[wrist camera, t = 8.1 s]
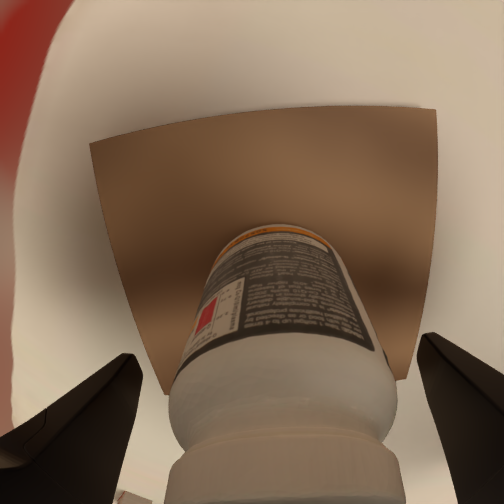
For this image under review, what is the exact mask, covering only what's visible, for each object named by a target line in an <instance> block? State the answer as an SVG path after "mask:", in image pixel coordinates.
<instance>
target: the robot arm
mask: <svg viewBox="0 0 504 504" xmlns="http://www.w3.org/2000/svg"><path fill="white" fill-rule="evenodd" d="M417 362H418V366H419V370H420V374H421V378H422V382H423V386H424V390H425V394H426V398H427V401H428V404H429V407H430V410H431V413H432V416H433V419H434V422H435V425H436V428H437V431H438V434H439V437H440V440H441V443H442V446H443V450H444V453H445V456H446V460H447V463H448V467H449V470H450V474H451V477H452V481H453V485H454V489H455V493H456V497H457V501H458V504H504V375H503V374H502V373H500V372H499V371H497V370H496V369H494V368H492V367H491V366H489V365H488V364H486V363H484V362H483V361H481V360H479V359H478V358H476V357H475V356H473V355H471V354H470V353H468V352H466V351H465V350H463V349H462V348H460V347H458V346H457V345H455V344H453V343H452V342H450V341H448V340H447V339H445V338H444V337H442V336H440V335H439V334H437V333H435V332H431V333H425V334H423V335H422V337H421V340H420V344H419V348H418V351H417ZM142 380H143V373H142V370H141V368H140V365H139V363H138V361H137V359H136V356H135V355H134V354H130V353H122V354H120V355H119V356H118V357H116V358H115V359H113V360H112V361H111V362H109V363H108V364H107V365H105V366H104V367H102V368H101V369H100V370H98V371H97V372H95V373H94V374H93V375H91V376H90V377H89V378H87V379H86V380H84V381H83V382H82V383H80V384H79V385H77V386H76V387H75V388H73V389H72V390H70V391H69V392H68V393H66V394H65V395H64V396H62V397H61V398H59V399H58V400H57V401H55V402H54V403H52V404H51V405H50V406H48V407H47V409H46V408H45V409H44V410H43V411H41V412H40V413H38V414H37V415H35V416H34V417H33V418H31V419H30V420H28V421H27V422H25V423H23V424H22V425H20V426H18V427H17V428H15V429H13V430H12V431H10V432H8V433H6V434H5V435H3V436H1V437H0V504H112V503H113V499H114V495H115V491H116V487H117V483H118V479H119V475H120V471H121V468H122V464H123V460H124V457H125V453H126V449H127V446H128V442H129V439H130V435H131V432H132V428H133V425H134V421H135V417H136V413H137V407H138V402H139V396H140V391H141V386H142Z"/></svg>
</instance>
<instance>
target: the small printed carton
mask: <svg viewBox="0 0 504 504" xmlns="http://www.w3.org/2000/svg"><path fill="white" fill-rule="evenodd" d="M117 504H152V501H151V500H148V499H146V498H143V497H140V496H138V495H135V494H132V493H130V492H127V491H125V492H124V493H123V495H122V496H121V497H120V498H119V500H118V503H117Z"/></svg>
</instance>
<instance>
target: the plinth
mask: <svg viewBox="0 0 504 504" xmlns="http://www.w3.org/2000/svg"><path fill="white" fill-rule="evenodd" d="M89 145H90V151H91V157H92V162H93V168H94V173H95V178H96V183H97V188H98V193H99V197H100V202H101V206H102V211H103V215H104V219H105V223H106V227H107V231H108V235H109V239H110V243H111V246H112V250H113V253H114V257H115V261H116V264H117V267H118V271H119V274H120V277H121V281H122V284H123V287H124V290H125V293H126V296H127V299H128V302H129V305H130V308H131V311H132V314H133V317H134V320H135V322H136V325H137V328H138V331H139V333H140V336H141V339H142V341H143V344H144V347H145V349H146V352H147V354H148V357H149V359H150V362H151V364H152V367H153V369H154V371H155V374H156V376H157V379H158V381H159V383H160V386H161V388H162V390H163V392H164V395H170V390H171V387H172V384H173V381H174V378H175V375H176V372H177V369H178V366H179V363H180V361H181V358H182V355H183V352H184V349H185V346H186V343H187V340H188V337H189V334H190V331H191V328H192V325H193V322H194V319H195V316H196V313H197V309H198V306H199V303H200V300H201V298H202V294H203V291H204V287H205V285H206V281H207V279H208V276H209V274H210V272H211V269H212V267H213V265H214V263H215V261H216V259H217V257H218V256H219V254H220V253H221V251H222V250H223V249H224V248H225V247H226V246H227V245H228V244H229V243H230V242H231V241H232V240H233V239H235V238H236V237H238V236H239V235H241V234H242V233H244V232H246V231H248V230H251V229H254V228H257V227H261V226H266V225H271V224H286V225H293V226H298V227H301V228H304V229H307V230H310V231H312V232H314V233H316V234H317V235H319V236H321V237H322V238H323V239H325V240H326V241H327V242H328V243H329V244H330V245H331V246H332V247H333V248H334V249H335V251H336V252H337V253H338V255H339V256H340V257H341V259H342V261H343V263H344V265H345V266H346V268H347V270H348V272H349V273H350V276H351V278H352V280H353V283H354V285H355V287H356V289H357V292H358V294H359V296H360V298H361V301H362V303H363V305H364V307H365V309H366V312H367V314H368V316H369V319H370V321H371V323H372V325H373V327H374V330H375V331H376V333H377V337H378V340H379V343H380V345H381V347H382V348H383V350H384V351H385V353H386V355H387V358H388V363H389V366H390V368H391V371H392V373H393V376H394V379H395V381H397V380H402V379H406V378H407V374H408V371H409V367H410V364H411V360H412V356H413V352H414V348H415V344H416V340H417V336H418V331H419V327H420V322H421V318H422V313H423V308H424V303H425V297H426V291H427V286H428V279H429V273H430V266H431V258H432V250H433V241H434V231H435V220H436V205H437V183H438V139H437V117H436V110H435V109H423V108H409V107H389V106H321V107H300V108H285V109H273V110H262V111H252V112H243V113H235V114H227V115H220V116H213V117H207V118H201V119H195V120H189V121H183V122H178V123H172V124H167V125H162V126H158V127H153V128H148V129H144V130H139V131H135V132H131V133H127V134H123V135H119V136H115V137H111V138H107V139H104V140H100V141H96V142H93V143H89Z"/></svg>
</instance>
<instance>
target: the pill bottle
mask: <svg viewBox="0 0 504 504" xmlns="http://www.w3.org/2000/svg"><path fill="white" fill-rule="evenodd" d="M397 401H398V400H397V388H396V382H395V379H394V376H393V373H392V371H391V368H390V366H389V363H388V358H387V355H386V353H385V351H384V350H383V348H382V347H381V345H380V343H379V340H378V337H377V333H376V331H375V330H374V327H373V325H372V323H371V321H370V319H369V316H368V314H367V312H366V309H365V307H364V305H363V303H362V301H361V298H360V296H359V294H358V292H357V289H356V287H355V285H354V283H353V280H352V278H351V276H350V273H349V272H348V270H347V268H346V266H345V265H344V263H343V261H342V259H341V257H340V256H339V255H338V253H337V252H336V251H335V249H334V248H333V247H332V246H331V245H330V244H329V243H328V242H327V241H326V240H325V239H323V238H322V237H321V236H319V235H317V234H316V233H314V232H312V231H310V230H307V229H304V228H301V227H298V226H293V225H286V224H271V225H266V226H261V227H257V228H254V229H251V230H248V231H246V232H244V233H242V234H241V235H239V236H238V237H236V238H235V239H233V240H232V241H231V242H230V243H229V244H228V245H227V246H226V247H225V248H224V249H223V250H222V251H221V253H220V254H219V256H218V257H217V259H216V261H215V263H214V265H213V267H212V269H211V272H210V274H209V276H208V279H207V281H206V285H205V287H204V291H203V294H202V298H201V300H200V303H199V306H198V309H197V313H196V316H195V319H194V322H193V325H192V328H191V331H190V334H189V337H188V340H187V343H186V346H185V349H184V352H183V355H182V358H181V361H180V363H179V366H178V369H177V372H176V375H175V378H174V381H173V384H172V387H171V390H170V395H169V419H170V423H171V427H172V430H173V433H174V435H175V437H176V439H177V441H178V443H179V444H180V446H181V447H182V448H183V450H184V451H185V453H184V454H183V455H182V456H181V458H180V459H178V460H177V461H176V462H175V463H174V464H173V466H172V468H171V470H170V474H169V479H168V484H167V489H166V495H165V500H164V504H406V497H405V492H404V487H403V482H402V478H401V473H400V468H399V462H398V460H397V458H396V456H395V454H394V453H393V452H391V451H390V450H389V449H387V448H386V447H385V446H384V445H383V444H382V442H383V440H384V439H385V437H386V436H387V434H388V432H389V431H390V429H391V427H392V424H393V421H394V418H395V415H396V410H397Z"/></svg>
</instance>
